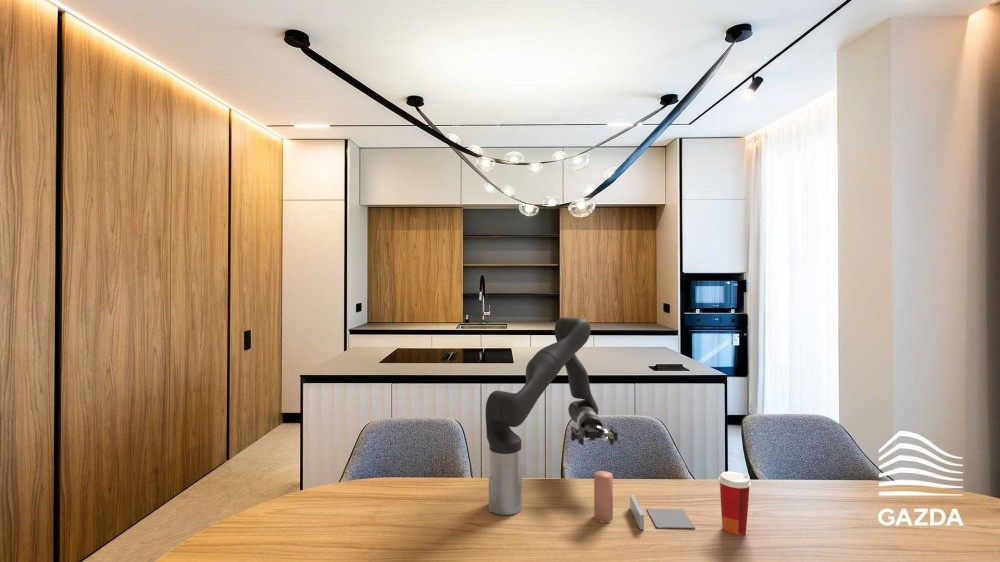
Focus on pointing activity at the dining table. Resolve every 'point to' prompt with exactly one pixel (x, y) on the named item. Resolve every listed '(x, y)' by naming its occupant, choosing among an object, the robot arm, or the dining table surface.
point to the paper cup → (734, 502)
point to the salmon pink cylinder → (603, 496)
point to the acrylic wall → (637, 511)
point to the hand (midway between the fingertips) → (597, 442)
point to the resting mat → (670, 518)
